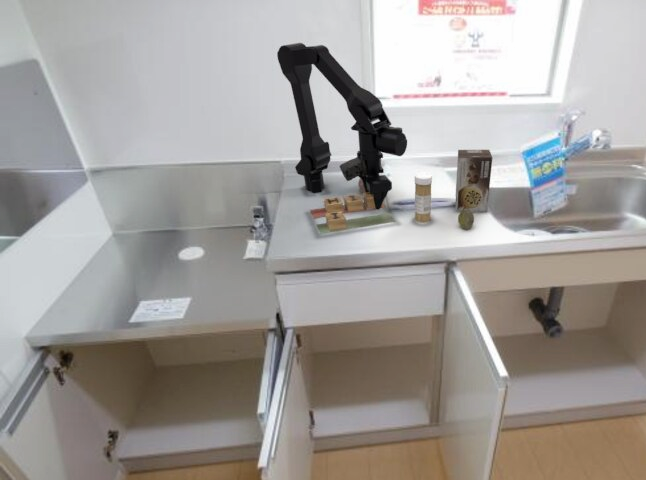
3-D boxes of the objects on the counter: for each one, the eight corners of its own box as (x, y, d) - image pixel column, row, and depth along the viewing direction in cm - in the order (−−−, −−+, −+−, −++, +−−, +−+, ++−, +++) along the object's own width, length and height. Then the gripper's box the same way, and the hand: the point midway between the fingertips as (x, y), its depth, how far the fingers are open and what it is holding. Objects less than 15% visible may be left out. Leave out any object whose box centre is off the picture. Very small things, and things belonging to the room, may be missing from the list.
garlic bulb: (371, 184, 144) (369, 160, 139) (386, 191, 140) (385, 166, 135) (353, 191, 140) (350, 166, 135) (368, 198, 136) (366, 172, 131)
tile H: (324, 208, 128) (323, 198, 126) (340, 206, 129) (339, 196, 127) (328, 215, 125) (326, 205, 123) (343, 212, 126) (342, 202, 124)
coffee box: (484, 202, 135) (490, 149, 125) (487, 212, 130) (493, 157, 120) (454, 202, 135) (457, 148, 124) (456, 212, 130) (460, 156, 119)
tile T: (363, 202, 131) (363, 192, 129) (378, 200, 133) (377, 190, 131) (367, 208, 128) (367, 198, 126) (382, 206, 129) (382, 196, 127)
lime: (473, 223, 124) (474, 206, 121) (473, 231, 121) (475, 214, 117) (457, 222, 124) (458, 206, 121) (457, 230, 121) (458, 213, 118)
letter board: (308, 213, 127) (307, 209, 127) (381, 202, 134) (381, 199, 133) (318, 237, 117) (318, 234, 116) (397, 224, 123) (397, 220, 122)
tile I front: (326, 223, 121) (325, 213, 119) (342, 221, 122) (341, 210, 120) (330, 231, 117) (328, 220, 115) (346, 228, 119) (345, 217, 117)
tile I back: (344, 205, 130) (343, 195, 128) (359, 203, 131) (358, 193, 129) (348, 212, 126) (347, 202, 124) (363, 209, 128) (362, 199, 126)
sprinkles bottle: (427, 217, 127) (428, 170, 118) (433, 224, 124) (434, 177, 115) (412, 219, 126) (412, 172, 117) (417, 226, 122) (418, 179, 114)
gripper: (332, 141, 124) (338, 194, 134) (349, 164, 111) (354, 221, 121) (371, 137, 128) (373, 189, 138) (391, 159, 114) (393, 214, 124)
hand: (373, 202), depth 130 cm, fingers open, 9 cm apart
